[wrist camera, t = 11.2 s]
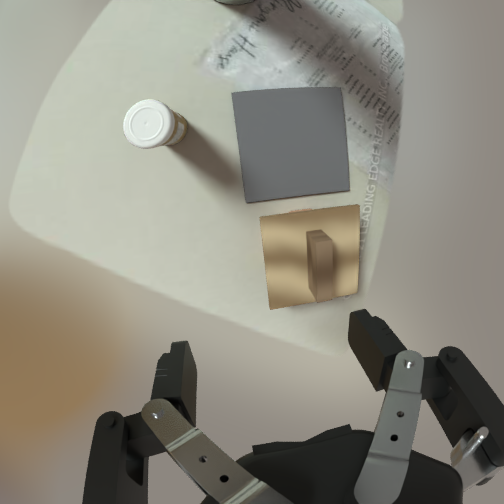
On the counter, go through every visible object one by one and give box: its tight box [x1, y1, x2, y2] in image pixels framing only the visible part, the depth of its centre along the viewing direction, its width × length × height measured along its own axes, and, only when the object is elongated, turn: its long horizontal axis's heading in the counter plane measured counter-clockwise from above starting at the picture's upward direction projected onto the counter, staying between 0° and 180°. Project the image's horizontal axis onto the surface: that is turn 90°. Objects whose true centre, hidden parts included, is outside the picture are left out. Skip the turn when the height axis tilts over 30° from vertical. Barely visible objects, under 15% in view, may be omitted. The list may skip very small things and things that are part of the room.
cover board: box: [260, 204, 360, 310], centre depth 36 cm, size 13×13×5 cm
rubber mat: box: [232, 87, 349, 203], centre depth 37 cm, size 15×15×1 cm
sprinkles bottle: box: [123, 99, 187, 149], centre depth 28 cm, size 5×5×13 cm
